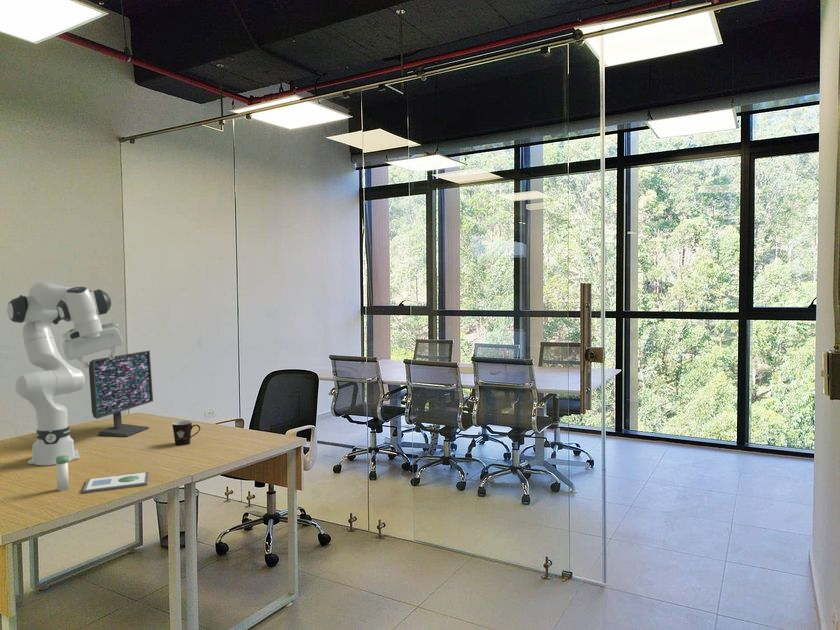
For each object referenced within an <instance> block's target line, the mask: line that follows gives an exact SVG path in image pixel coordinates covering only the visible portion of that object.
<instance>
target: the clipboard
mask: <svg viewBox="0 0 840 630" xmlns="http://www.w3.org/2000/svg"><path fill="white" fill-rule="evenodd" d="M148 473H149V471H143V472H135V473H134V472H133V473H125V474H117V475H107V476H99V477H92V478H86V482H85V483H84V486H83V488H82V491H81V493H82V494H88V493H87V492H90V493H95V492H94V491H98V492H102V491H101V490H106V491H111V490H110V489H113V490H120V489H119V488H121V489H128V488H127V487H129V488H136V487H135V486H137V487H143V486H144V485H145V486H148V483H147V482H148V481H149V474H148Z"/></svg>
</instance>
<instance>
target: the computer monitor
mask: <svg viewBox="0 0 840 630" xmlns="http://www.w3.org/2000/svg"><path fill="white" fill-rule="evenodd" d="M114 357H115V359H112V360H110V359H109V356H107V357H102V358H101V357H100V358H95V359H92V360H89V363H88V365H89V367H88V374H89V375H88V376H89V390H90V403H91V405H90V406H91V414H92V416H93V418H94V419H97V420H98V419H101V418H105V417H107V416H110V415H112V417H113V426H111V427H109V428H106V429H103V430H100V431H99V432H98V433H97V435H98V436H101V437H117V438H118V437H119V438H120V437H121V438H123V437H124V438H127V437H130V436H133V435H135V434H138V433H141V432H143V431H145V430H148V429H150V427H148V426H142V425H135V424H127V423H126V424H125V423H123V422H122V412H123V411H127V410H130V409H134V408H137V407H140V406H143V405H146V404H149V403H152V402H154V394H153V393H154V392H153V379H152V365H151V350H145V351H138V352H132V353H126V354H119V355H114Z"/></svg>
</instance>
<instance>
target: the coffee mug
mask: <svg viewBox="0 0 840 630" xmlns="http://www.w3.org/2000/svg"><path fill="white" fill-rule="evenodd" d="M194 427H198V431H197V432H195V433H193V434H192V429H193V428H194ZM172 430H173V432H172V433H173V437H174V438H173V439H174V443H175V446H180V447H181V446H186V445H189V444H191V439H192V438H193V437H194V436H196V435H197V434H198V433H199V432H200V430H201V426H200V425H199V424H193V421H191V420H179V421H173V422H172Z"/></svg>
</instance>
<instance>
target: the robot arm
mask: <svg viewBox="0 0 840 630" xmlns="http://www.w3.org/2000/svg"><path fill="white" fill-rule="evenodd" d="M111 307H112V300H111V297H110V296H109V294H108V293H107V292H105V291H104V290H101V289H99V288H98V289H95V290H92V289H91V290H89V288H88V287H86V286H75V287H72V286H65V285H61V284H57V283H53V282H51V281H50V282H49V281H38V282H35V283H34V284H32V285H31V287H30V288H29V291H28V295H24V296H23V295H22V294H21V295H19V296H18V297H15V298H12V299H11V300H10V301H9V302H8V303H7V307H6V314H7V316H8V318H9V320H10V321H11V322H13V323H19V324H22V323H25V324H24V325H23V327H22V338H23V343H24V347H25V351H26V354H27V358H28V361H29V363H30V364H32V365H33V366H34V367H37V368H40V369H42V370H39V371H38V370H37V371H31V372H28V373H25V374H20V375H19V377H18V378H16V382H15V386H14V387H15V391H16V393H17V395H18V396H20V397H21V398H22V399H25V400H26V401H28V402H29V403H30V404H31V406H32V407H33V409H34V411H35V414H36V415H35V416H36V422H37V423H36V425H37V429H36V434H35V435H36V440H35V441H34V442H32V458H31V459H29V460H28V461H27V464H28V465H36V466H51V465H52V466H53V465H56V457H58V456H63V455H67V456H68V462H70V461H74V460H79V459H80V458H81V456H80V452H79V450H78V449H77V448H76V446H75V445H74V439H73V438H72V436H71V428H70V426H69V411H68V408H67V407H66V406H65V405H64V404H60V403H59V402H54V399H53V397H54V396H60V395H68V394H69V395H70V394H72V393H75V392H78V391H80V390H81V391H82V389H83V387H84V386H85V383H86V376H85V374H84V372H83V371H82V370H81V369H80V368H76V367H75V366H73V365H71V364H69V363H68V362H67V361H66V360H65V358H66V359H67V360H69V361H72V360H75V359H76V360H78V362H80V363H81V364H82V366H83V368H84V369H85V368H89V363H88V361H84V360H83V359H84V358H83V357H86V356H88V355H92V354H95V353H98V352H101V351H104V350H105V351H106V350H109V351H110V354H108V357H109V359H110V360H112V359H115V357H114V356H115V353H116V347H119V346H122V345H123V344H124V339H123V337H122V335H121V331H120V326H119V324H118V323H114V322H110V323H105V324H102V322H101V319H100V317H99V316H100V315H106V314H107V313H108V312H109V311H110V310H111ZM62 320H63V321H64V322H67V323H71V322H73V323H72V324H73V328H71V329H69V330H68V331H66V332H64V333H63V334H62V338H63V340H64V341H63V343H62V350H63V353H64V357H65V358H63V357H62V355H61V354H60V352H59V349H58V346H57V343H56V340H55V338H54V334H53V332H52V328H51V326H52V324H53V325H58V324H59V322H60V321H62Z"/></svg>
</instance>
